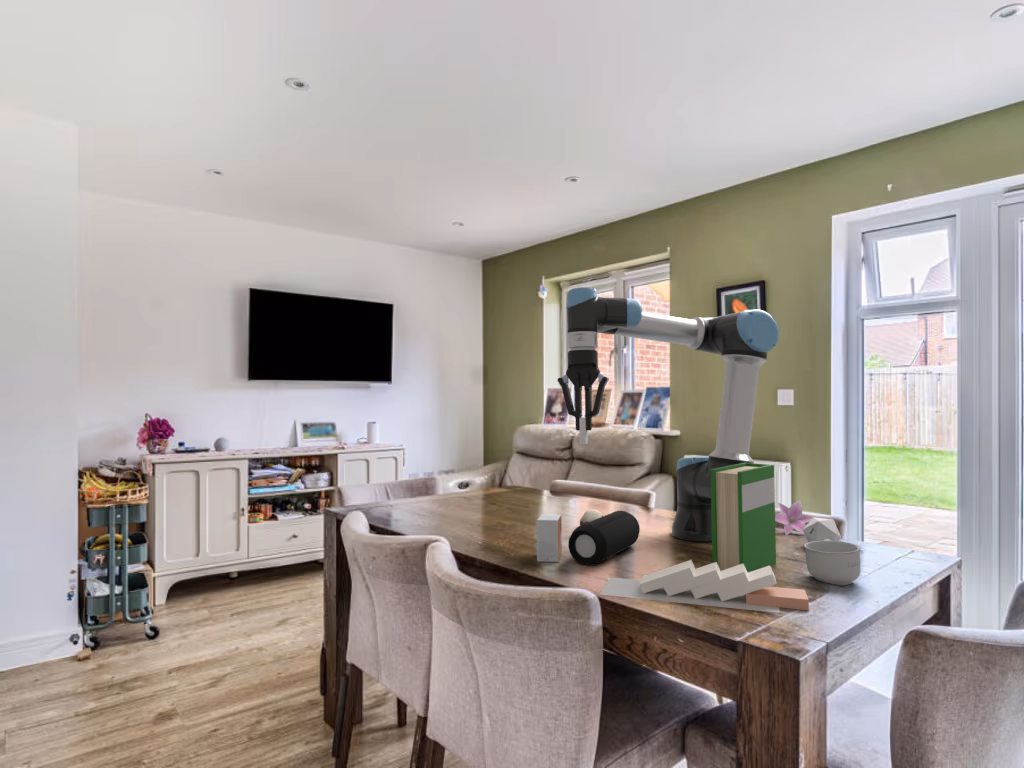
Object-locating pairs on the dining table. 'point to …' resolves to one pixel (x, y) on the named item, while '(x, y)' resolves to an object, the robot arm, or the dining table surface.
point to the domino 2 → (696, 579)
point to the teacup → (833, 561)
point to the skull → (590, 516)
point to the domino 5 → (779, 598)
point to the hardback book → (743, 516)
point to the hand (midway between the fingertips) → (583, 443)
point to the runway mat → (677, 596)
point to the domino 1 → (667, 576)
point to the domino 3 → (723, 581)
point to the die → (821, 530)
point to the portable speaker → (603, 537)
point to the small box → (549, 538)
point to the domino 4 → (750, 583)
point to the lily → (792, 517)
